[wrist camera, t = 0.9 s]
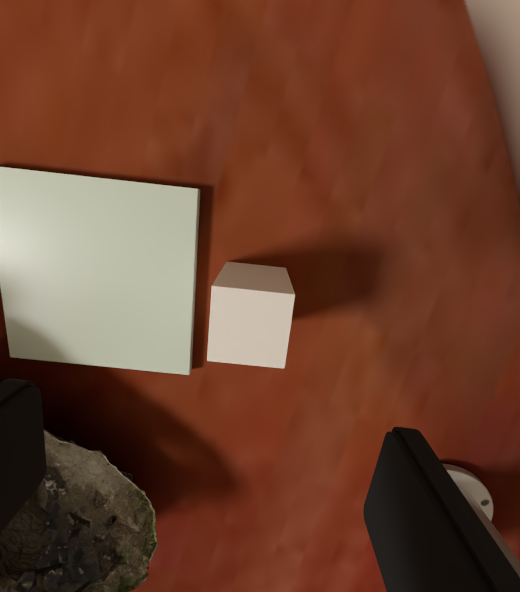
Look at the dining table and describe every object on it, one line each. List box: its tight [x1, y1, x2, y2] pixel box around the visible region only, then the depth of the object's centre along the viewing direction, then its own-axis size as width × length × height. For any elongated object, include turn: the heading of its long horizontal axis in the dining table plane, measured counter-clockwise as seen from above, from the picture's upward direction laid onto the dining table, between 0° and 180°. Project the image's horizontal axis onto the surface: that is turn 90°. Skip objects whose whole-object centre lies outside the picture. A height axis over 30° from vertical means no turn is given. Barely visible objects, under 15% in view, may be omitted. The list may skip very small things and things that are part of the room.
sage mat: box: [0, 167, 200, 375], centre depth 26 cm, size 16×16×1 cm
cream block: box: [207, 262, 295, 369], centre depth 23 cm, size 5×5×8 cm
